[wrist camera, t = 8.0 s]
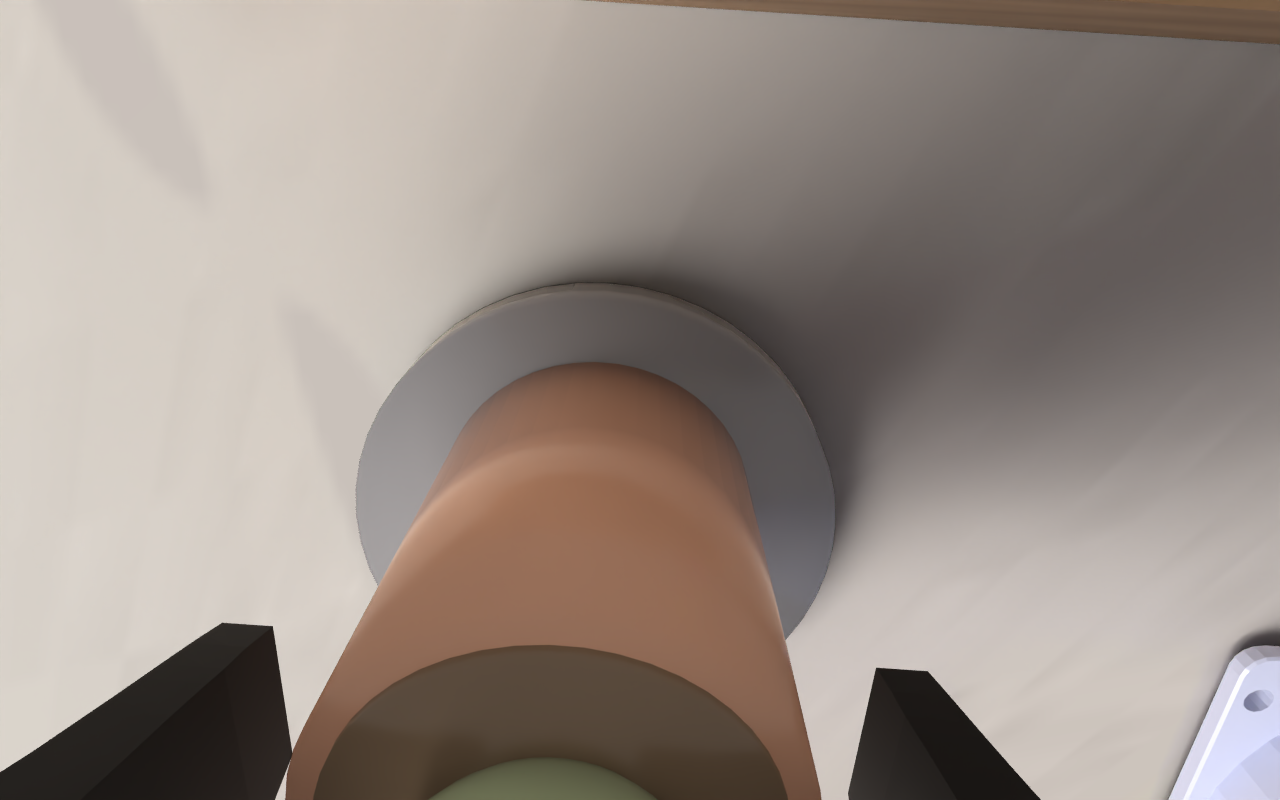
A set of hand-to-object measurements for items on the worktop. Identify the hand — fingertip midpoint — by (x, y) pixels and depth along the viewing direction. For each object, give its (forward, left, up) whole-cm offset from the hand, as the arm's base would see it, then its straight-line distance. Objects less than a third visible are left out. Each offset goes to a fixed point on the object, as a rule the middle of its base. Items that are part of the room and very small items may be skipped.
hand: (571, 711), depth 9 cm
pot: (+1, 0, -4) cm, 4 cm away
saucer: (0, 0, -5) cm, 5 cm away
